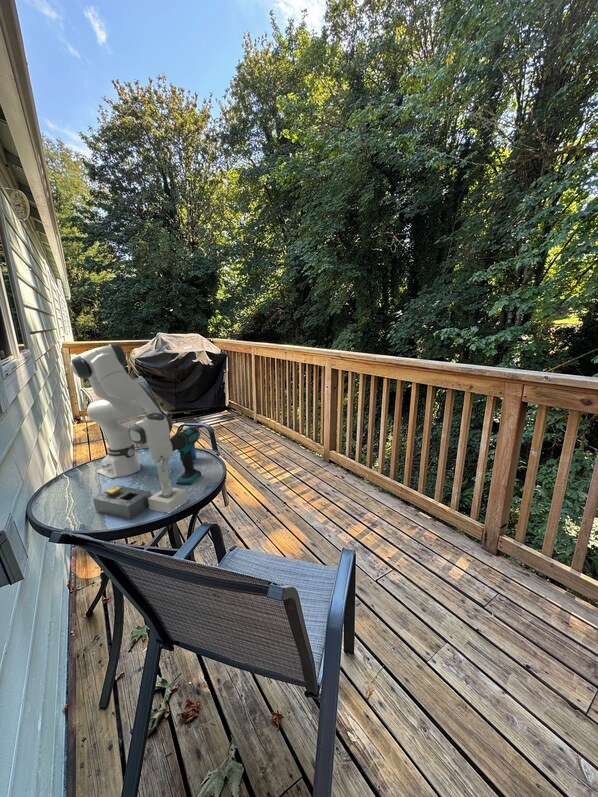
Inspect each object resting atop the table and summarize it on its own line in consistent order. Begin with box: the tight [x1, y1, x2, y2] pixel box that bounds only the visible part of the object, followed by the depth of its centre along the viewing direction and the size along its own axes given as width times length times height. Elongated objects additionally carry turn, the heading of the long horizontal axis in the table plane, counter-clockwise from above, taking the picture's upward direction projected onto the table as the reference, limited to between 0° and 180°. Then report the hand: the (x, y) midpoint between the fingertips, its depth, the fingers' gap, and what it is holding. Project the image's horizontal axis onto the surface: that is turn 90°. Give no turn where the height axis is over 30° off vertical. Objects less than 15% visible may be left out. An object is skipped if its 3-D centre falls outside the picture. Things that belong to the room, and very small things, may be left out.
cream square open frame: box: [148, 486, 189, 513], centre depth 148 cm, size 11×11×5 cm
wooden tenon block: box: [103, 485, 123, 496], centre depth 149 cm, size 5×5×8 cm
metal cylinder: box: [160, 476, 173, 499], centre depth 147 cm, size 4×4×12 cm
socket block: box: [92, 484, 153, 521], centre depth 147 cm, size 20×12×6 cm, turn 67°
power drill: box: [170, 426, 202, 485], centre depth 166 cm, size 26×9×25 cm, turn 168°
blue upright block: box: [180, 443, 197, 463], centre depth 191 cm, size 8×8×16 cm
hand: (165, 483), depth 146 cm, fingers open, 8 cm apart
